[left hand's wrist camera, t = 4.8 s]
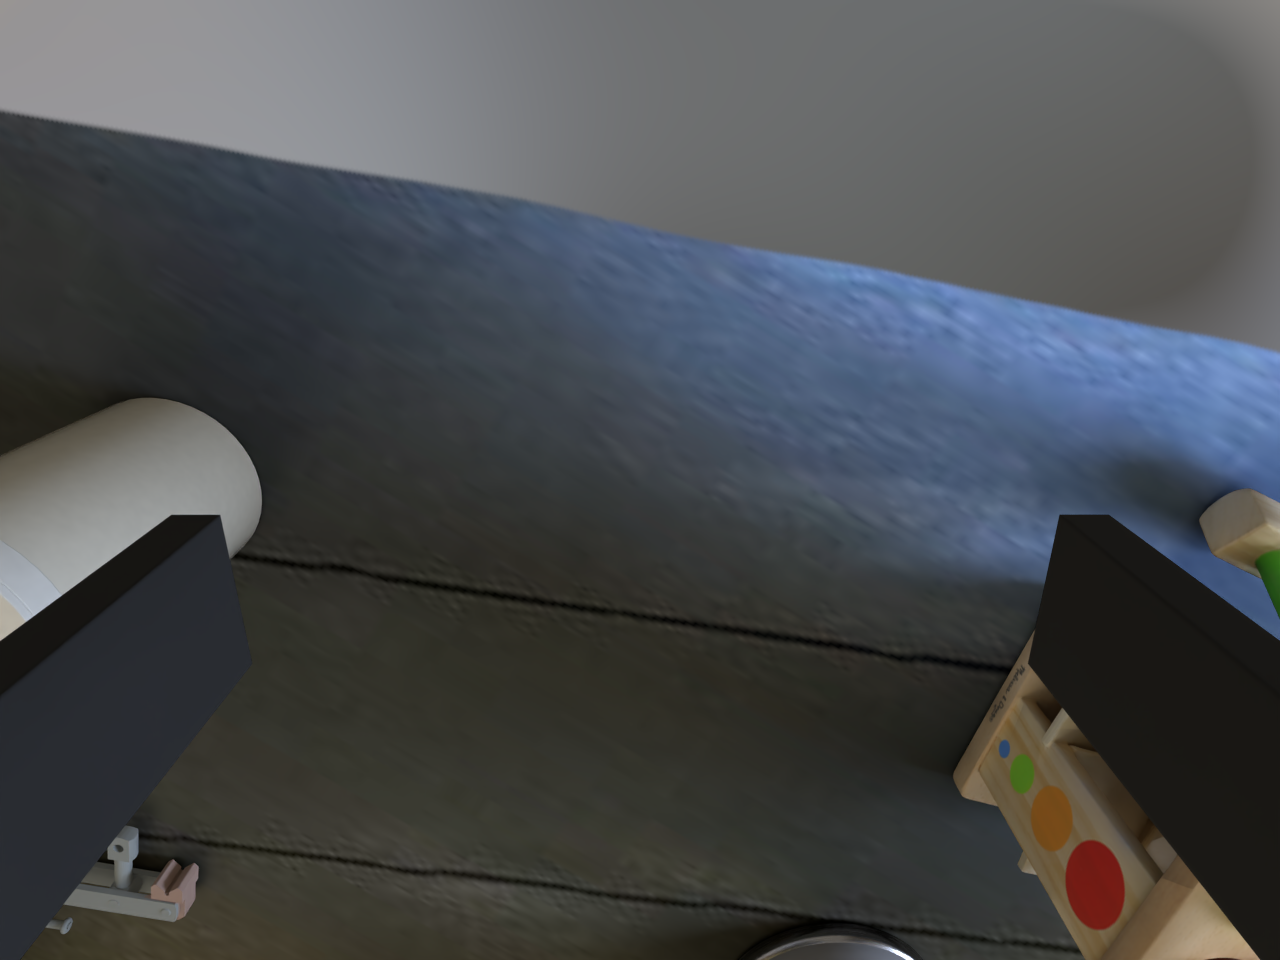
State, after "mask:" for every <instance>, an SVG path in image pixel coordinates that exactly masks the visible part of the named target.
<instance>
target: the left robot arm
mask: <svg viewBox="0 0 1280 960" xmlns="http://www.w3.org/2000/svg"><path fill="white" fill-rule="evenodd" d="M251 665H252V660H251V655H250V651H249V646H248V641H247V637H246V632H245V627H244V623H243V618H242V613H241V609H240V604H239V600H238V595H237V590H236V586H235V581H234V576H233V572H232V567H231V562H230V558H229V553H228V548H227V544H226V539H225V534H224V530H223V525H222V520H221V516H220V515H170V516H169V517H168V518H166V519H165V520H163V521H162V522H161V523H159V524H158V525H157V526H155V527H154V528H153V529H151V530H150V531H149V532H147V533H146V534H144V535H143V536H142V537H140V538H139V539H138V540H136V541H135V542H134V543H132V544H131V545H130V546H128V547H127V548H125V549H124V550H123V551H121V552H120V553H119V554H117V555H116V556H115V557H113V558H112V559H111V560H109V561H108V562H107V563H105V564H104V565H102V566H101V567H100V568H98V569H97V570H96V571H94V572H93V573H92V574H90V575H89V576H88V577H86V578H85V579H83V580H82V581H81V582H79V583H78V584H77V585H75V586H74V587H73V588H71V589H70V590H69V591H67V592H66V593H64V594H63V595H62V596H60V597H59V598H58V599H56V600H55V601H54V602H52V603H51V604H50V605H48V606H47V607H45V608H44V609H43V610H41V611H40V612H39V613H37V614H36V615H35V616H33V617H32V618H31V619H29V620H28V621H26V622H25V623H24V624H22V625H21V626H20V627H18V628H17V629H16V630H14V631H13V632H12V633H10V634H9V635H7V636H6V637H5V638H3V639H2V640H1V641H0V960H20V959H21V958H22V956H23V955H24V954H25V953H26V951H27V950H28V949H29V948H30V946H31V945H32V944H33V942H34V941H35V940H36V939H37V937H38V936H39V935H40V934H41V932H42V931H43V930H44V928H45V927H46V926H47V925H48V923H49V922H50V921H51V920H52V918H53V917H54V916H55V914H56V913H57V912H58V911H59V909H60V908H61V907H62V905H63V904H64V903H65V902H66V900H67V899H68V898H69V897H70V895H71V894H72V893H73V891H74V890H75V889H76V888H77V886H78V885H79V884H80V883H81V881H82V880H83V879H84V877H85V876H86V875H87V874H88V872H89V871H90V870H91V869H92V867H93V866H94V865H95V863H96V862H97V861H98V860H99V858H100V857H101V856H102V854H103V853H104V852H105V851H106V849H107V848H108V847H109V846H110V844H111V843H112V842H113V840H114V839H115V838H116V837H117V835H118V834H119V833H120V832H121V830H122V829H123V828H124V826H125V825H126V824H127V823H128V821H129V820H130V819H131V818H132V816H133V815H134V814H135V812H136V811H137V810H138V809H139V807H140V806H141V805H142V803H143V802H144V801H145V800H146V798H147V797H148V796H149V795H150V793H151V792H152V791H153V789H154V788H155V787H156V786H157V784H158V783H159V782H160V781H161V779H162V778H163V777H164V775H165V774H166V773H167V772H168V770H169V769H170V768H171V767H172V765H173V764H174V763H175V761H176V760H177V759H178V758H179V756H180V755H181V754H182V752H183V751H184V750H185V749H186V747H187V746H188V745H189V744H190V742H191V741H192V740H193V738H194V737H195V736H196V735H197V733H198V732H199V731H200V730H201V728H202V727H203V726H204V724H205V723H206V722H207V721H208V719H209V718H210V717H211V716H212V714H213V713H214V712H215V710H216V709H217V708H218V707H219V705H220V704H221V703H222V702H223V700H224V699H225V698H226V696H227V695H228V694H229V693H230V691H231V690H232V689H233V687H234V686H235V685H236V684H237V682H238V681H239V680H240V679H241V677H242V676H243V675H244V673H245V672H246V671H247V670H248V668H249V667H250V666H251ZM1028 665H1029V666H1030V667H1031V668H1032V670H1033V671H1034V672H1035V673H1036V675H1037V676H1038V677H1039V679H1040V680H1041V681H1042V682H1043V684H1044V685H1045V686H1046V687H1047V689H1048V690H1049V691H1050V693H1051V694H1052V695H1053V696H1054V698H1055V699H1056V700H1057V702H1058V703H1059V704H1060V705H1061V707H1062V708H1063V709H1064V710H1065V712H1066V713H1067V714H1068V716H1069V717H1070V718H1071V719H1072V721H1073V722H1074V723H1075V724H1076V726H1077V727H1078V728H1079V730H1080V731H1081V732H1082V733H1083V735H1084V736H1085V737H1086V738H1087V740H1088V741H1089V742H1090V744H1091V745H1092V746H1093V747H1094V749H1095V750H1096V751H1097V752H1098V754H1099V755H1100V756H1101V758H1102V759H1103V760H1104V761H1105V763H1106V764H1107V765H1108V767H1109V768H1110V769H1111V770H1112V772H1113V773H1114V774H1115V775H1116V777H1117V778H1118V779H1119V781H1120V782H1121V783H1122V784H1123V786H1124V787H1125V788H1126V789H1127V791H1128V792H1129V793H1130V795H1131V796H1132V797H1133V798H1134V800H1135V801H1136V802H1137V803H1138V805H1139V806H1140V807H1141V809H1142V810H1143V811H1144V812H1145V814H1146V815H1147V816H1148V818H1149V819H1150V820H1151V821H1152V823H1153V824H1154V825H1155V826H1156V828H1157V829H1158V830H1159V832H1160V833H1161V834H1162V835H1163V837H1164V838H1165V839H1166V840H1167V842H1168V843H1169V844H1170V846H1171V847H1172V848H1173V849H1174V851H1175V852H1176V853H1177V854H1178V856H1179V857H1180V858H1181V860H1182V861H1183V862H1184V863H1185V865H1186V866H1187V867H1188V869H1189V870H1190V871H1191V872H1192V874H1193V875H1194V876H1195V877H1196V879H1197V880H1198V881H1199V883H1200V884H1201V885H1202V886H1203V888H1204V889H1205V890H1206V891H1207V893H1208V894H1209V895H1210V897H1211V898H1212V899H1213V900H1214V902H1215V903H1216V904H1217V905H1218V907H1219V908H1220V909H1221V911H1222V912H1223V913H1224V914H1225V916H1226V917H1227V918H1228V920H1229V921H1230V922H1231V923H1232V925H1233V926H1234V927H1235V928H1236V930H1237V931H1238V932H1239V934H1240V935H1241V936H1242V937H1243V939H1244V940H1245V941H1246V942H1247V944H1248V945H1249V946H1250V948H1251V949H1252V950H1253V951H1254V953H1255V954H1256V955H1257V956H1258V958H1259V959H1260V960H1280V641H1279V640H1278V639H1277V638H1275V637H1274V636H1273V635H1271V634H1270V633H1268V632H1267V631H1266V630H1264V629H1263V628H1262V627H1260V626H1259V625H1258V624H1256V623H1255V622H1254V621H1252V620H1251V619H1249V618H1248V617H1247V616H1245V615H1244V614H1243V613H1241V612H1240V611H1239V610H1237V609H1236V608H1235V607H1233V606H1232V605H1230V604H1229V603H1228V602H1226V601H1225V600H1224V599H1222V598H1221V597H1220V596H1218V595H1217V594H1216V593H1214V592H1213V591H1211V590H1210V589H1209V588H1207V587H1206V586H1205V585H1203V584H1202V583H1201V582H1199V581H1198V580H1197V579H1195V578H1194V577H1192V576H1191V575H1190V574H1188V573H1187V572H1186V571H1184V570H1183V569H1182V568H1180V567H1179V566H1178V565H1176V564H1175V563H1173V562H1172V561H1171V560H1169V559H1168V558H1167V557H1165V556H1164V555H1163V554H1161V553H1160V552H1159V551H1157V550H1156V549H1155V548H1153V547H1152V546H1150V545H1149V544H1148V543H1146V542H1145V541H1144V540H1142V539H1141V538H1140V537H1138V536H1137V535H1136V534H1134V533H1133V532H1131V531H1130V530H1129V529H1127V528H1126V527H1125V526H1123V525H1122V524H1121V523H1119V522H1118V521H1117V520H1115V519H1114V518H1112V517H1111V516H1110V515H1060V516H1059V520H1058V525H1057V530H1056V534H1055V539H1054V544H1053V548H1052V553H1051V558H1050V562H1049V567H1048V572H1047V576H1046V581H1045V586H1044V590H1043V595H1042V600H1041V604H1040V609H1039V613H1038V618H1037V623H1036V627H1035V632H1034V637H1033V641H1032V646H1031V651H1030V655H1029V660H1028ZM739 960H923V959H922V958H921V957H920V956H919V955H918V953H917V952H916V951H915V950H914V949H912V948H911V947H910V946H909V945H908V944H906V943H905V942H903V941H902V940H900V939H898V938H897V937H895V936H893V935H891V934H888V933H886V932H883V931H881V930H878V929H874V928H871V927H867V926H861V925H855V924H845V923H826V924H815V925H809V926H803V927H799V928H795V929H791V930H788V931H785V932H782V933H780V934H777V935H775V936H772V937H770V938H769V939H767V940H765V941H763V942H761V943H759V944H758V945H756V946H755V947H753V948H752V949H751V950H749V951H748V952H747V953H745V954H744V955H743V956H742V957H741V958H740V959H739Z"/></svg>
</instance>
